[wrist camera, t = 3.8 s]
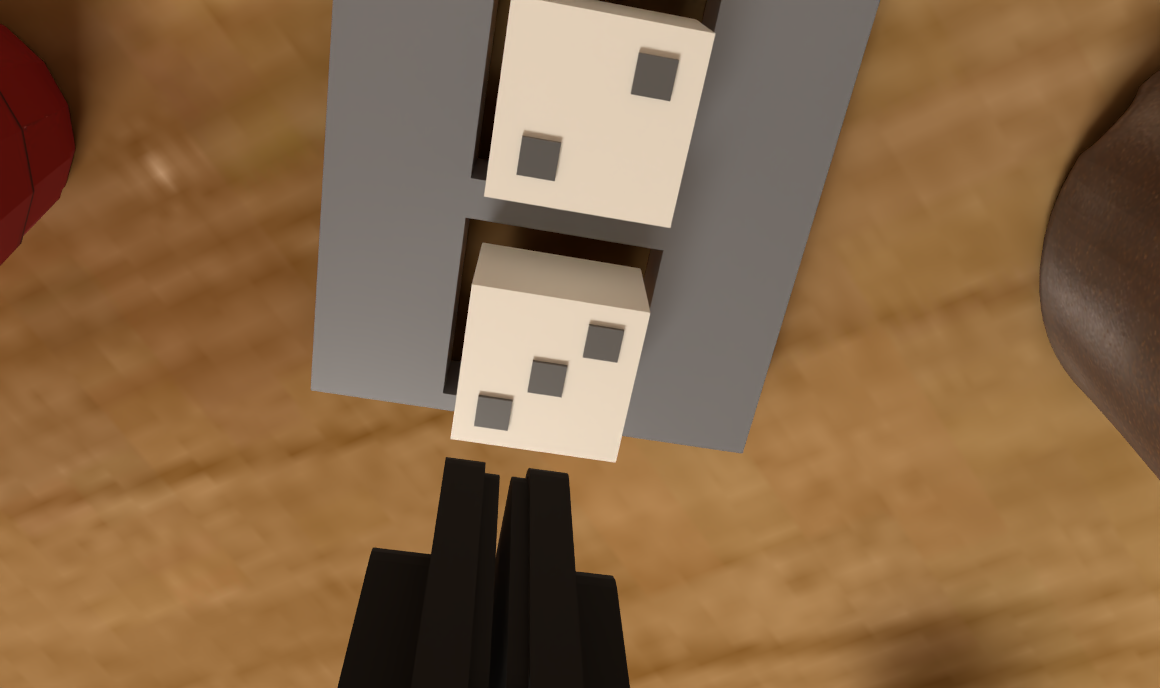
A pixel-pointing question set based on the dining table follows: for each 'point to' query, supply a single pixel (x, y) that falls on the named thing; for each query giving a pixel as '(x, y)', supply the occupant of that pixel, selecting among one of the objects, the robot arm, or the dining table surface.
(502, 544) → the robot arm
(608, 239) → the panel
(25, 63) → the plastic cup
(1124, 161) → the plant pot
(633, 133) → the tile
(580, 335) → the three-pip tile
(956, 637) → the dining table surface
